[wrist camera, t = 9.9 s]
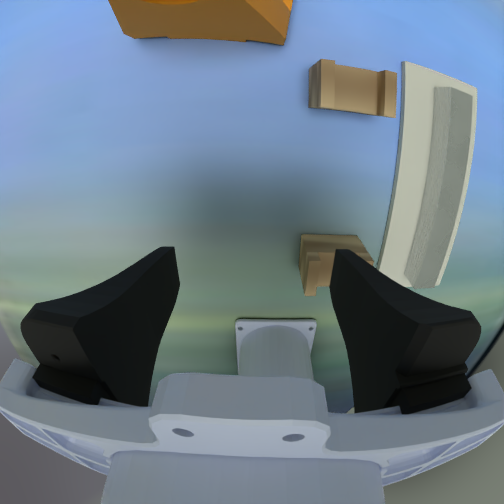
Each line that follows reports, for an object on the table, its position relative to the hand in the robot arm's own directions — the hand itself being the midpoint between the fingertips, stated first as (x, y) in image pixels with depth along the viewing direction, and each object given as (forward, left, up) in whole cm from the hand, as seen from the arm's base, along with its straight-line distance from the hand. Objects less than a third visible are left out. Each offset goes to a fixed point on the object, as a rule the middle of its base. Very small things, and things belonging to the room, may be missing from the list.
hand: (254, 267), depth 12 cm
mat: (+2, -15, -10) cm, 18 cm away
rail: (+2, -15, -9) cm, 18 cm away
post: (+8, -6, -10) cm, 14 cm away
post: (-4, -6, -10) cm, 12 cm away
